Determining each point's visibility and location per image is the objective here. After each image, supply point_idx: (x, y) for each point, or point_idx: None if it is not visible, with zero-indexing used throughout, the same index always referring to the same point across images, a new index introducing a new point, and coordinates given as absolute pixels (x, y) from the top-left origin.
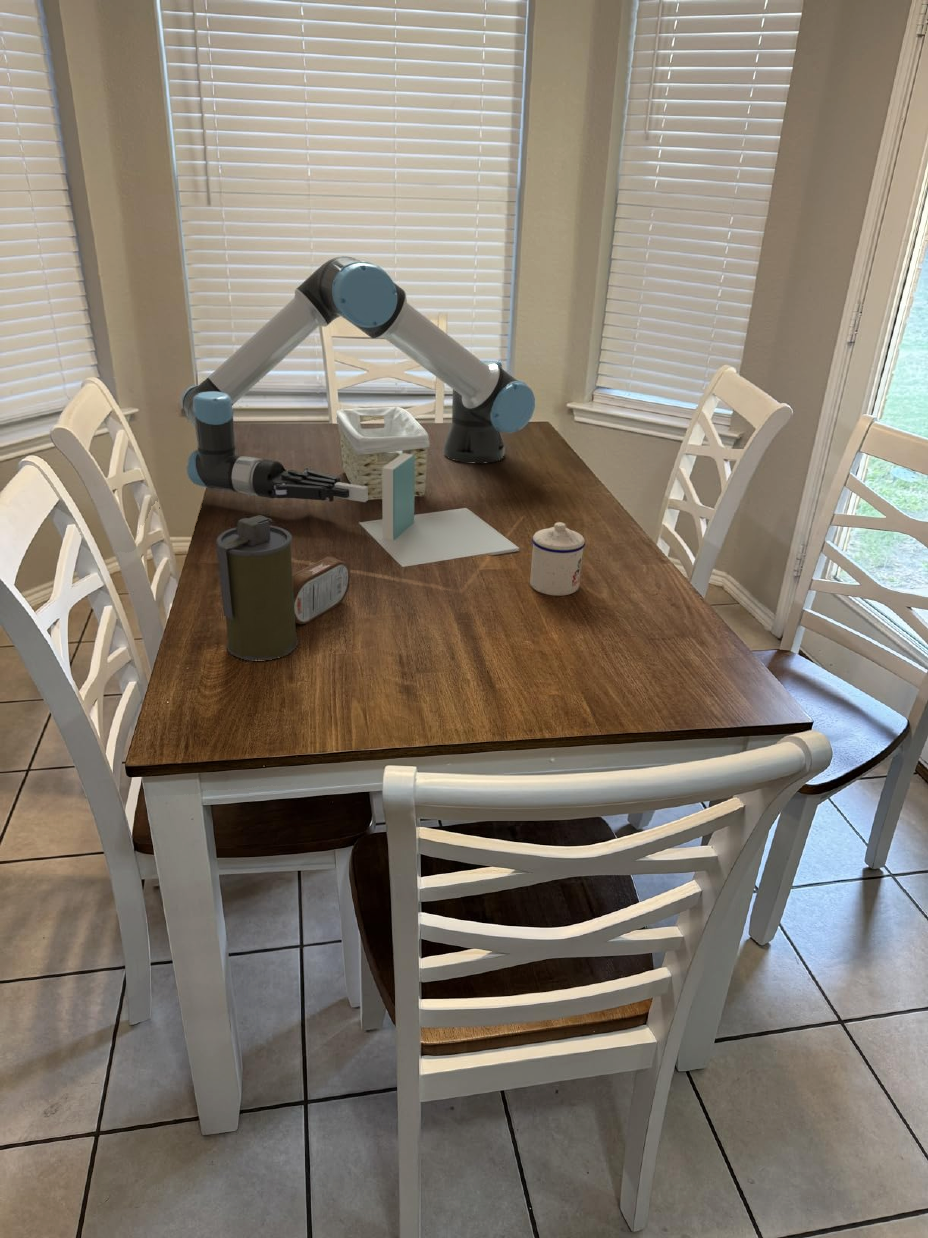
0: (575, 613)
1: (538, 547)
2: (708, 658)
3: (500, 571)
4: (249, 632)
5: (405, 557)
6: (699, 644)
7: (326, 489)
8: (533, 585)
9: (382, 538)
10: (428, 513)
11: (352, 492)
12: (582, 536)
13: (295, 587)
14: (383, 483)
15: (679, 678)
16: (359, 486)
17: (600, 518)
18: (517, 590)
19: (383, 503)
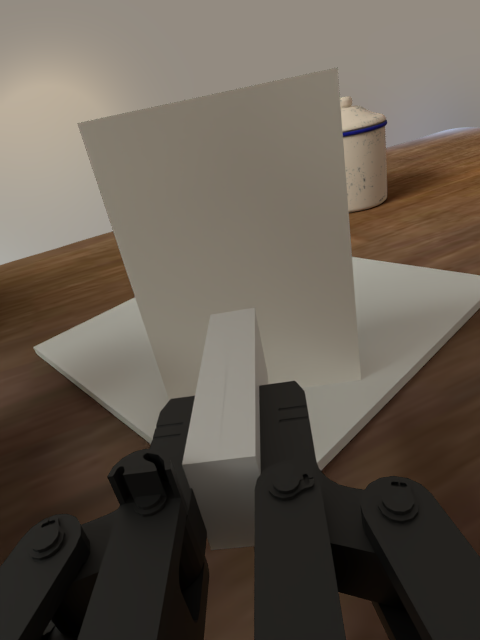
0: (410, 180)
1: (384, 125)
2: (409, 149)
3: (350, 231)
4: None
5: (443, 295)
6: (388, 154)
7: (358, 505)
8: (381, 198)
9: (365, 378)
10: (87, 383)
11: (261, 383)
12: None
13: None
14: (343, 152)
15: (463, 142)
16: (223, 336)
17: (73, 251)
18: (400, 208)
19: (350, 247)
